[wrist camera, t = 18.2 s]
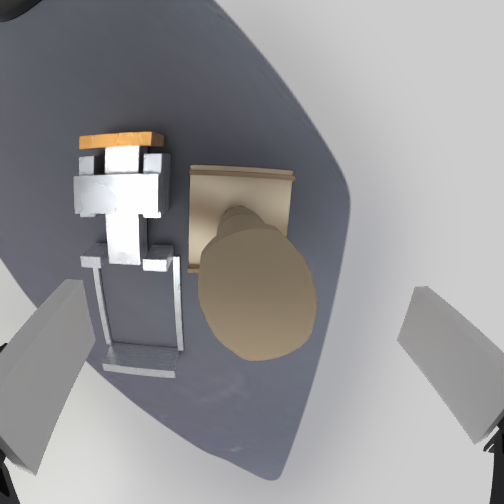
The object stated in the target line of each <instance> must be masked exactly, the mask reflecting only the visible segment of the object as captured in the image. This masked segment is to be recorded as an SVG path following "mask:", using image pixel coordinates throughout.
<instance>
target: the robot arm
mask: <svg viewBox="0 0 504 504" xmlns="http://www.w3.org/2000/svg"><path fill="white" fill-rule="evenodd" d="M39 1H40V0H0V22H2V21H7V20H10V19H13V18H15V17H17V16H19V15H21V14H22V13H24V12H26V11H27V10H29V9H30V8H31V7H33V6H34V5H35V4H37V3H38V2H39ZM95 341H96V340H95V336H94V332H93V328H92V324H91V319H90V315H89V310H88V305H87V300H86V295H85V290H84V284H83V280H73V279H66V280H65V281H64V282H63V283H62V284H61V285H60V286H59V287H58V288H57V289H56V290H55V291H54V292H53V293H52V294H51V295H50V296H49V297H48V298H47V299H46V300H45V302H44V303H43V304H42V305H41V306H40V307H39V308H38V309H37V310H36V311H35V312H34V314H33V315H32V316H31V317H30V318H29V319H28V320H27V322H26V323H25V324H24V325H23V326H22V327H21V329H20V330H19V331H18V332H17V333H16V334H15V336H14V337H13V338H12V339H11V341H10V342H9V343H5V344H4V345H2V346H0V504H20V502H19V500H18V497H17V494H16V492H15V489H14V486H13V483H12V481H11V477H10V474H9V471H8V469H7V467H6V465H5V464H4V463H3V462H4V460H5V457H7V458H8V459H9V460H10V461H11V462H12V463H13V464H14V465H15V466H16V467H17V468H20V469H22V470H24V471H26V472H29V473H31V474H33V475H36V474H37V472H38V469H39V466H40V463H41V460H42V458H43V455H44V452H45V450H46V447H47V444H48V442H49V439H50V437H51V434H52V432H53V430H54V427H55V425H56V422H57V420H58V418H59V415H60V413H61V411H62V409H63V406H64V404H65V402H66V400H67V398H68V395H69V393H70V391H71V388H72V387H73V384H74V383H75V380H76V378H77V376H78V374H79V372H80V370H81V368H82V366H83V364H84V362H85V360H86V358H87V357H88V355H89V353H90V351H91V349H92V347H93V345H94V343H95ZM397 341H398V342H399V343H400V345H401V346H402V347H403V348H404V350H405V351H406V352H407V353H408V355H409V356H410V357H411V358H412V359H413V361H414V362H415V363H416V365H417V366H418V367H419V369H420V370H421V371H422V372H423V374H424V375H425V377H426V378H427V379H428V380H429V382H430V383H431V384H432V386H433V387H434V388H435V390H436V391H437V392H438V394H439V395H440V396H441V398H442V399H443V401H444V402H445V403H446V405H447V406H448V407H449V409H450V410H451V411H452V413H453V414H454V416H455V417H456V418H457V420H458V421H459V423H460V424H461V426H462V427H463V429H464V430H465V431H466V433H467V434H468V436H469V437H470V439H471V440H472V442H473V443H474V444H476V443H478V442H480V441H481V440H483V439H485V438H486V437H488V435H489V434H490V433H491V432H492V431H493V429H494V428H495V427H496V426H498V428H499V430H498V431H497V432H496V434H495V435H494V436H493V437H492V438H491V439H490V441H489V442H488V443H487V444H486V445H485V447H484V450H483V451H486V450H487V449H488V448H489V447H490V446H491V445H492V444H494V445H493V446H492V447H491V448H490V450H489V452H490V453H494V469H493V481H492V490H491V498H490V504H504V353H503V352H502V351H501V350H500V349H499V348H498V347H497V346H496V345H495V344H494V343H493V342H492V341H491V340H489V339H488V338H487V337H486V336H485V335H484V334H483V333H482V332H480V330H479V329H477V328H476V327H475V326H474V325H473V324H472V323H471V322H469V321H468V320H467V319H466V318H465V317H464V316H462V315H461V314H460V313H459V312H458V311H457V310H456V309H454V308H453V307H452V306H451V305H450V304H448V303H447V302H446V301H445V300H444V299H442V298H441V297H440V296H439V295H438V294H436V293H435V292H434V291H433V290H431V289H430V288H429V287H428V286H425V287H415V288H414V292H413V295H412V298H411V302H410V305H409V308H408V311H407V313H406V316H405V319H404V322H403V325H402V328H401V331H400V333H399V336H398V339H397Z"/></svg>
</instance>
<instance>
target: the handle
mask: <svg viewBox="0 0 504 504" xmlns="http://www.w3.org/2000/svg"><path fill="white" fill-rule="evenodd" d="M198 297H199V303H200V306H201V309H202V311H203V314H204V316H205V318H206V320H207V322H208V324H209V326H210V328H211V330H212V332H213V333H214V335H215V336H216V338H217V339H218V340H219V341H220V342H221V343H222V344H224V345H225V346H226V347H228V348H229V349H230V350H231V351H233V352H234V353H236V354H237V355H238V356H240V357H241V358H243V359H245V360H252V361H262V360H270V359H274V358H277V357H281V356H283V355H286V354H288V353H290V352H292V351H294V350H296V349H298V348H299V347H300V346H301V345H303V344H304V343H305V342H306V341H307V340H308V339H309V338H310V336H311V332H312V329H313V325H314V321H315V317H316V313H317V305H318V301H317V294H316V289H315V285H314V282H313V278H312V274H311V271H310V268H309V266H308V264H307V262H306V260H305V259H304V257H303V256H302V255H301V254H300V252H299V251H298V250H297V249H296V248H295V247H294V245H293V244H292V243H291V242H290V241H289V240H288V239H287V238H286V237H285V236H284V235H283V234H282V233H281V232H280V231H279V230H278V229H277V228H276V227H275V226H273V225H269V224H265V223H264V221H263V220H262V219H261V218H260V216H258V215H257V214H256V213H255V212H254V211H252V210H250V209H248V208H246V207H245V206H242V205H239V206H238V207H236V208H233V209H227V210H226V211H225V212H224V214H223V216H222V218H221V220H220V222H219V224H218V228H217V233H216V236H215V237H214V238H213V239H212V240H211V241H210V242H209V243H208V244H207V245H206V246H205V248H204V249H203V250H202V252H201V257H200V266H199V278H198Z"/></svg>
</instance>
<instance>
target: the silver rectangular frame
mask: <svg viewBox="0 0 504 504" xmlns="http://www.w3.org/2000/svg"><path fill="white" fill-rule="evenodd" d="M172 258H173V274H174V298H175V316H176V331H177V344H178V348H173V347H159V346H147V345H136V344H126V343H117V342H112V337H111V333H110V328H109V322H108V317H107V312H106V306H105V300H104V294H103V287H102V280H101V272H100V268H102V267H103V266H104V265H105V264H106V262H107V261H108V260H109V255H108V244H107V243H96V244H95V245H94V246H92V247H91V248H90V249H89V250H88V251H86V252H85V253H84V254H83V255H81V264H82V267H91V268H93V272H94V279H95V286H96V292H97V298H98V304H99V310H100V315H101V320H102V325H103V330H104V334H105V339H106V343H107V344H111V346H110V348H109V350H108V352H107V354H106V356H105V358H104V360H103V362H102V365H103V368H104V370H106V371H113V372H120V373H128V374H136V375H146V376H156V377H167V378H175V376H176V370H177V364H178V358H179V351H183V350H184V343H183V327H182V308H181V280H180V255H174V245H155V244H153V246H152V247H151V248H150V250H149V251H148V253H147V254H146V255H145V257H144V258H143V270H145V271H167V269H168V267H169V265H170V263H171V260H172Z"/></svg>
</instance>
